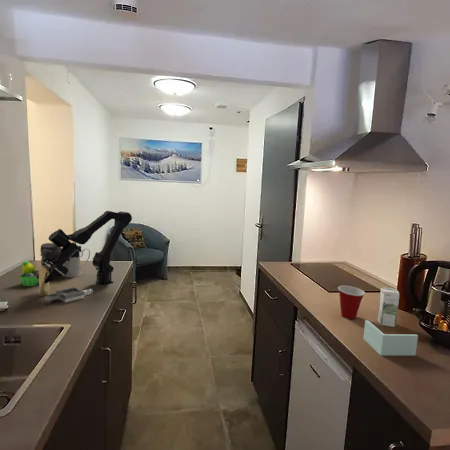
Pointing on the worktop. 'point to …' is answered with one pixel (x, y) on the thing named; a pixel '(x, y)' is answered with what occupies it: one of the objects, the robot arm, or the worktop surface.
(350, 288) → the plastic cup
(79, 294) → the ball-tipped frame bar
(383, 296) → the syrup box
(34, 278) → the fruit basket
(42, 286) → the brass pin
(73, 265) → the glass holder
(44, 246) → the coffee jar
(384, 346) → the l-shaped corner panel
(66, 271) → the robot arm
